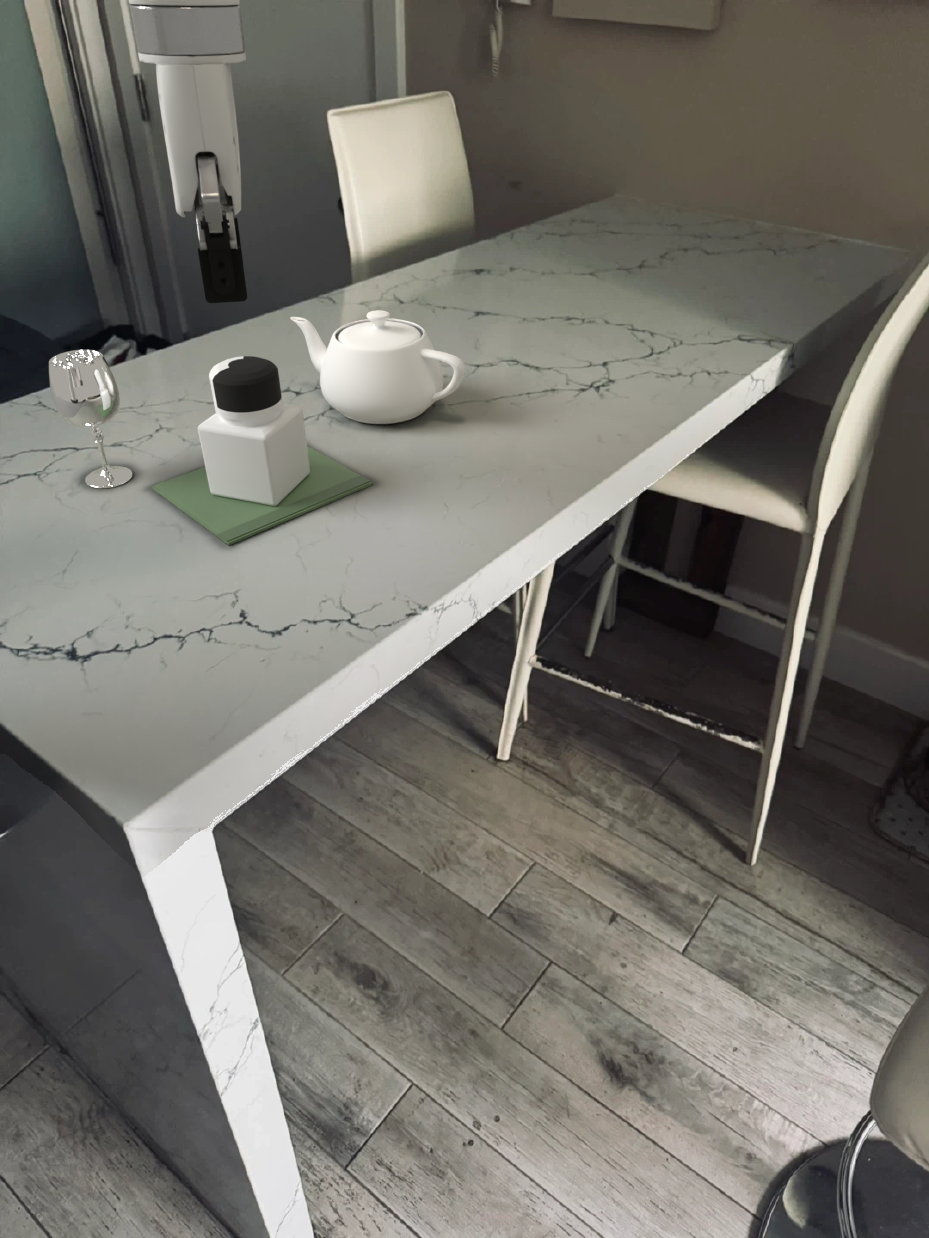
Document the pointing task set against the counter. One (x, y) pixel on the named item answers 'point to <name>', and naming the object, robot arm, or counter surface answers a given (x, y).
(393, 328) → the teapot
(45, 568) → the counter surface
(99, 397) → the wineglass
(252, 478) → the medicine bottle
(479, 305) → the counter surface
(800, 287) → the counter surface
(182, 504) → the napkin
